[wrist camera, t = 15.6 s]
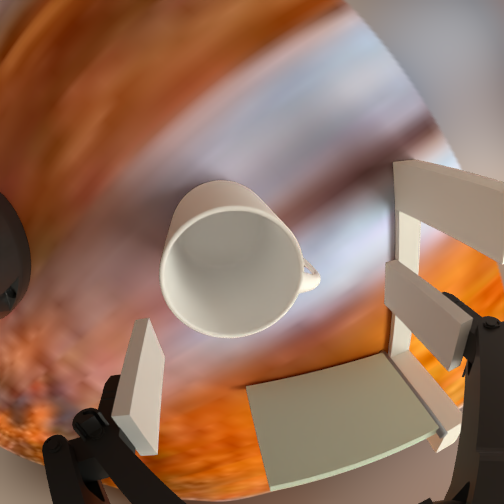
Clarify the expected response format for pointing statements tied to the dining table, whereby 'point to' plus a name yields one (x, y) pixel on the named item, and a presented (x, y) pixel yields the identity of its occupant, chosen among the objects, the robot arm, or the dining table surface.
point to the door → (337, 420)
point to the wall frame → (455, 225)
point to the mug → (230, 262)
